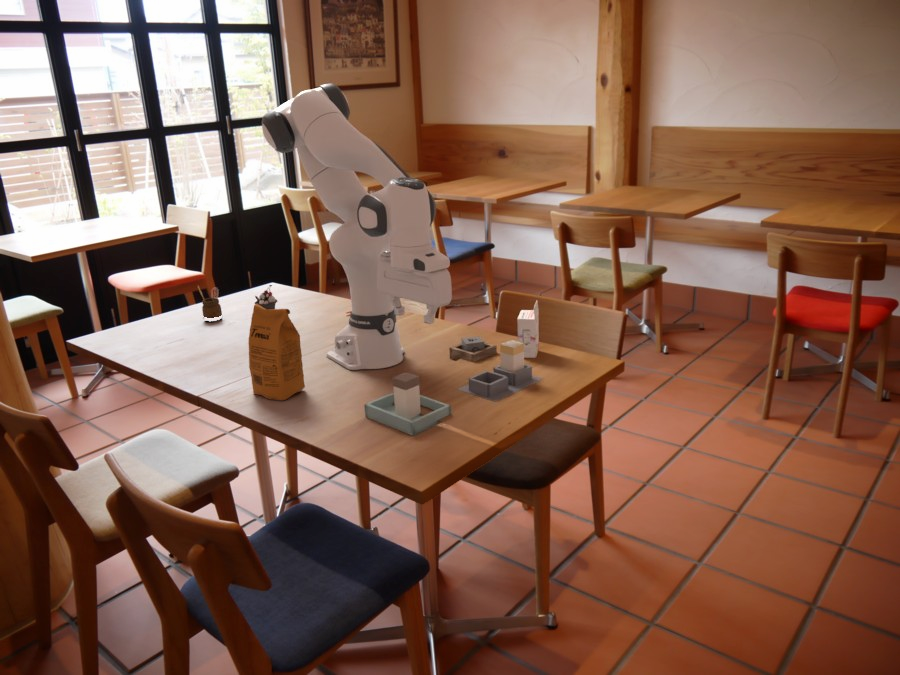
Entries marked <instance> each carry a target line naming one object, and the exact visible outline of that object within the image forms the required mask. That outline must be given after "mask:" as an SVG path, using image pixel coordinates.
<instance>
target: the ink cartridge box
mask: <svg viewBox="0 0 900 675" xmlns="http://www.w3.org/2000/svg"><path fill="white" fill-rule="evenodd" d="M538 303H539V301H538V299H536V301H535V303H534V306H533V309H521V310H520V312H519V315H518V316H517V319H516V320H517V322H516V323H517V342H521V343H524V359H526V358H528V359H529V358H530V359H535V358H537V355H538V353H539V344H540V342H539V340H540V339H539V338H540V337H539V336H540V334H539V325H540V324H539V317H540V316H539V311H540V310H539V304H538Z"/></svg>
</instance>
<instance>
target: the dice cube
mask: <svg viewBox="0 0 900 675" xmlns="http://www.w3.org/2000/svg"><path fill="white" fill-rule="evenodd" d="M461 343H462V350H465V351H469V352H473V353H475V352H477V351H480V350H482V349H485V345H484V343H485V340H483V339H482V337H480V336H470V337H469V336H468V337H461Z"/></svg>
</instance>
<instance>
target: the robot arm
mask: <svg viewBox="0 0 900 675" xmlns="http://www.w3.org/2000/svg"><path fill="white" fill-rule="evenodd" d="M349 104H350V103H349V101H348V98H347V97H346V95H345V94H344V92H343V91H342V90H341V89H340V87H339V86H337V85H336V84H334V83H333V82H332V83H331V82H330V83H324V84H320V85H318V87H316V88H312V89H306V90H303V91H300V92H299V93H298V94H297V95H295V96H294V97H293V98H291V99H289V100H287V101H286V102H283V103H282V104H280V105H279V106H277V107H276V108H272V109H270V110H268V112H267V113H265V114H264V115H263V116H262V120H261V122H260V123H261V127H262V128H261V129H262V133H263V137H264V138H265V140H266V142H267V143H268V145H270V146H271V147H272V148H273V149H274V151H276V152H277V153H281V154H285V153H290V152H293V151H294V150H295V149H296V151H297V154H298V158H299V160H300V163H301V165H302V167H303V170H304V171H305V173H306V176H307V177H308V180H309V182H310V183H311V185H312V187H313V189H314V190H315V192H316V194H317V195H318V197H319V199H320V201H321V202H322V204H323V206H324V207H325V209H326V210H328V211H329V213H332V214H334V215H336V216H337V217H338V218H340V219H341V220H342V221H343V222H344V223H342V224H341V225H340V226H338V227H337V228H335V230H334V231H333V232H332V233H331V235H330V236H329V237H330V238H329V241H328V246H329V250H330V254H331V256H332V257H333V258H334V260H335V261H337V262H338V264H340V265H341V266H342V268H343V270H344V273H345V276H346V278H347V281H348V285H349V293H350V303H351V311H347V312H346V314H347V315H346V317H349V319H348V323H347V325H346V326H344V327H343V328H342V329H341V330H340V331H338V333H337V334H336V335H335V338H334V348H332V349H330V350H329V351H327V353H326V357H327V358H328V359H330V360H332V361H333V362H335V363H337V364H339V365H340V366H342V367H343V368H345V369H348V370H350V371H359V370H377V369H378V370H379V369H385V368H390V367H393V366H396V365H399V363H401V362H403V361H404V355H403V354H404V352H405V350H404V348H403V347H402V344H401V339H400V332H399V327H398V325H397V324H396V322H397V316H399V317H402V316H405V313H406V312H405V306H403V305H402V302H401V300H400V299H403V300H408V301H413V302H416V303H420V304H423V305H426V307H425V308H426V309H427V313H426V314H424V315H423V323H425V324H427V325H433V324H434V323H435V315H436V313H437V312H438V309H439V308H441V307H445V306H448V305H450V303H451V302H452V298H453V294H452V293H453V291H452V290H453V289H452V288H453V287H452V276H451V273H450V271H449V269H447V268H449V267H450V264H451V261H450V258H449V257H448V256H446V255H445V254H444V253H442V252H440V251H439V250H438V249H436V248H435V247H434V246H432V245H433V244H432V243H433V242H432V238H431V235H430V227H431V226H432V224H433V222H434V221H435V217H436V213H437V205H436V200H435V199H434V197H433V195H432V194H431V192H430V191H429V190H428V187H427V186H426V183H424V181H422V180H420V179H417V178H414V177H411V176H410V175H409V174H408V173H407V172H406V171H405V170H404V169H403V168H402V167H401V166H400V165H399V164H398V163H397V162H396V161H395V159H394V158H392V156H390V154H389V153H388V152H387V151H385V149H384V148H383V147H381V146H380V145H379V144H378V143H376V142H374V140H372V139H370V138H369V137H367V136H366V135H364V134H363V133H361V131H359V130H358V129H357V128H355V127H354V126H353V125H352V123H351V122H349V118H350V116H351V115H350V114H351V110H350V105H349ZM356 172H357V173H358V172H359V173H361V174H366V175H368V176H369V177H372V178H374V179H375V180H376V181H377V182H378V183H379V184H380V185H381V186H382V187H383V188H381V189H380V190H377V191H373V192H371V193H369V192H368V191H367V189H366V188H365V187H364V185H363V183H362V182H361V180H360V178H359V177H358V175H357V173H356Z"/></svg>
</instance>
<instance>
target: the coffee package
mask: <svg viewBox="0 0 900 675" xmlns="http://www.w3.org/2000/svg"><path fill="white" fill-rule="evenodd" d="M290 314H291V311H290V309H289V308H275V309H269V310H267V309H265V308H263V307H262V306H260V305H258V304H255V303H254V305H253V311H252V314H251V320H250V321H251V322H250V328H249V334H248V335H249V336H248V368H249V372H250V376H251V385H252V391H253V392H252V394H253V393H254V394H253V395H255V394H257V396H263V397H264V398H265V399H267V398H268V399H267V400H271V399H275V401H285V400H288V399H289V398H290V397H292V396H294V394H296V393H299V392H301V391H302V390H304V389H305V388H306V386H305V379H304V378H305V377H304V369H303V366H304V364H303V358H302V355H303V354H302V347H301V336H300V333H299V332H298V330H297V328H296V327H295V325H294V323H293V321H292V320H291V318H290V316H289V315H290Z"/></svg>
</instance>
